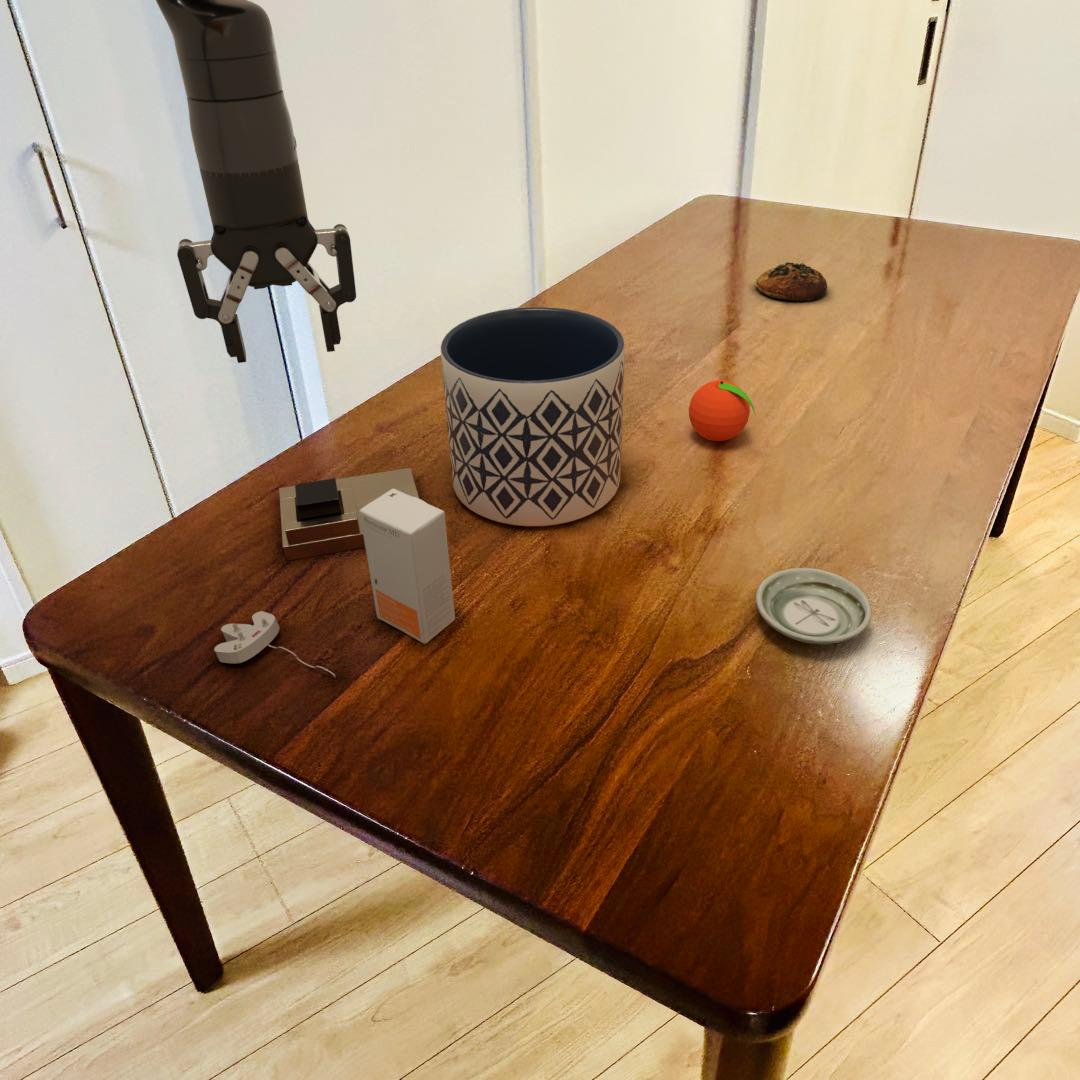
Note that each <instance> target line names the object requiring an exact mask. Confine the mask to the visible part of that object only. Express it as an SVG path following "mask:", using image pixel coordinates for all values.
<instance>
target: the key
mask: <svg viewBox="0 0 1080 1080" xmlns="http://www.w3.org/2000/svg"><path fill="white" fill-rule="evenodd" d="M336 479H337V478H335V477H334V478H326V479H321V480H315V481H307V482H300V483H295V484H294V486H295V492H296V504H297V510H298V514H299V519H300V522H301V521H307V520H313V519H319V518H325V517H331V516H337V515H342V514H341V508H340V501H339V495H338V490H337V484H336Z"/></svg>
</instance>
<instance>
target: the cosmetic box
mask: <svg viewBox="0 0 1080 1080" xmlns="http://www.w3.org/2000/svg"><path fill="white" fill-rule="evenodd" d="M360 518H361V524H362V530H363V536H364V542H365V547H364V548H365V553H366V560H367V567H368V573H369V578H370V583H371V589H372V595H373V601H374V607H375V614H376V618H377V619H378V620H380V621H382V622H384V623H386V624H388V625H390V626H392V627H393V628H395V629H397V630H399V631H401V632H403V633H404V634H406V635H408V636H410V637H411V638H412V639H415V640H417V641H418V642H420V643H422V644H423V645H426V644H428V643H429V642H430V641H431V640H432V639H434V637H436V636H437V635H438V634H439V633H441V632H442V631H443V630H444V629H446V628H447V627H448V626H449V625H451V624H452V623H453V622H454V621H455V620H456V611H455V603H454V602H455V601H454V593H453V592H454V591H453V583H452V572H451V564H450V563H451V562H450V553H449V543H448V542H449V541H448V533H447V523H446V512H445V511H444V510H443V509H440V508H438V507H436V506H434V505H431V504H429V503H427V502H426V501H424V500H423V499H422V498H421V499H420V497H419V498H416V497H413V496H410V495H407V494H405V493H403V492H401V491H398V490H396V489H391V490H390V491H388V492H386V493H385V494H383V495H382V496H380V497H379V498H377V499H375V500H374V501H372V502H371V503H369V504H367V505H366V506H364V507H363V508H362V509H360Z"/></svg>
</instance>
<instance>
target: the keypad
mask: <svg viewBox="0 0 1080 1080" xmlns="http://www.w3.org/2000/svg"><path fill="white" fill-rule="evenodd" d="M335 479H336V484H337V490H338V495H339V501H340V508H341V514H342V515H337V516H331V517H325V518H319V519H313V520H307V521H301V522H300V519H299V514H298V510H297V504H296V492H295V485H290V486H285V487H279V488H278V491H279V492H278V494H279V507H280V522H281V523H280V525H281V540H282V551H283V553H284V554H283V555H284V558H285V561H286V562H289V561H294V560H300V559H305V558H311V557H316V556H322V555H329V554H334V553H340V552H346V551H351V550H357V549H364V548H365V542H364V536H363V530H362V524H361V518H360V509H362V508H363V507H364V506H366V505H367V504H369V503H371V502H372V501H374V500H375V499H377V498H379V497H380V496H382V495H383V494H385V493H386V492H388V491H390V490H391V489H396V490H398V491H401V492H403V493H405V494H407V495H410V496H413V497H416V498H419V499H420V495H419V493H418V489H417V486H416V484H415V479H414V475H413V472H412V468H411V467H406V468H399V469H392V470H388V471H380V472H375V473H367V474H362V475H356V476H348V477H342V478H335Z"/></svg>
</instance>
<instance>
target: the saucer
mask: <svg viewBox="0 0 1080 1080" xmlns="http://www.w3.org/2000/svg"><path fill="white" fill-rule="evenodd" d="M755 605H756V608H757V611H758V613H759V615H760V616H761V618H762V619H763V620H764V622H765V623H766V624H768V625H769V626H770V627H771V628H772V629H774V630H775V631H776V632H778V633H780V634H782V636H785V637H787V638H789V639H792V640H794V641H796V642H800V643H805V644H808V645H809V644H810V645H832V644H840V643H844V642H847V641H850V640H852V639H855V638H856V637H858V636H859V635H861V634H862V633H863V632H865V631H866V629H867V628H868V626H869V625H870V622H871V620H872V616H873V615H872V614H873V613H872V611H873V609H872V606H871V603H870V601H869V599H868V597H867V595H866V594H865V593H864V592H863V591H862V589H860V588H859V587H858V586H857V585H856V584H854V583H853V582H851V581H850V580H848V579H847V578H846V577H844V576H840V575H839V574H836V573H833V572H830V571H827V570H825V569H824V570H823V569H818V568H812V567H793V568H787V569H782V570H779V571H776V572H774V573H772V574H770V575H769V576H767V577H766V578H764V580H762V581H761V582H760V584H759V585H758V587H757V588H756V592H755Z"/></svg>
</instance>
